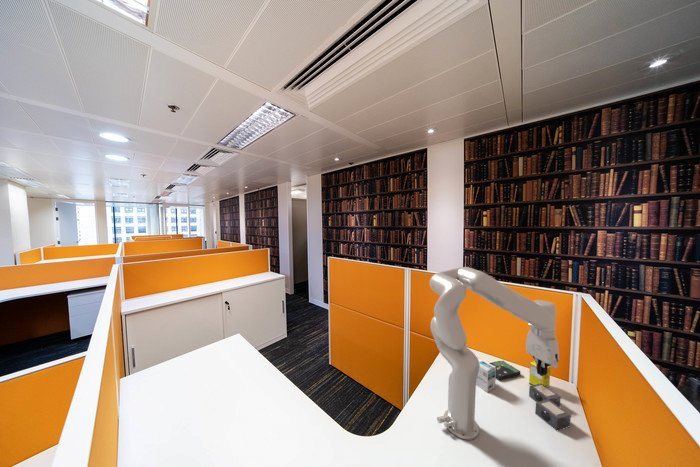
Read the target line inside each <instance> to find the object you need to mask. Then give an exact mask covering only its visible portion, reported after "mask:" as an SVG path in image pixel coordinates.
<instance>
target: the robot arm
mask: <svg viewBox="0 0 700 467" xmlns="http://www.w3.org/2000/svg"><path fill="white" fill-rule="evenodd" d="M429 287H430V289H431V290H432V292H434V293H435V294H437V295H438V296H439V298H438V300H437V301H436V303H435V305H434V308H433V314H434V315H433V317H432V318H431V319H430V326H429V327H430V331H431V334H432V336H433V339H434V341H435V342H434V343H435V345H436V347H437V349H438V351H439V353H440V354H441V356H442V357H443V358H444V359H445V360H446V362H447V363H448V364H449V365H450V366H451V368H452V370H451V372H450V373H449V377H448V392H447V393H448V395H447V396H448V398H447V410H445V412H444V413H443V416H437V417H436V420H437V423H438V424H442V423H443V425H444V427H445V428H446V429H447V430H448V431H449V433H450V432H451V433H452V435H454V436H456V437H458V438H460V439H463V440H473V439H476V438H477V437H478V436H479V433H480V430H479V425H478V423H477V421H476V420H475V419H476V418H475V415H476V413H475V412H476V410H475V409H476V391H477V385H476V379H477V375H478V372H479V368H480V364H479V360H478V358H479V357H478V356H477V355H476V354H475V353H474V352H473V351H472V350H471V349H470V348H468V346H467V342H468V341H467V334H466V331H465V329H464V326H463V323H462V321H461V318H460V315H459V309H460V306H461V305H462V303H463V302H464V300H465V298H466V296H467V290H469V291H471V292H473V293H474V294H476V295H478V296H479V297H481V298H483V299H484V300H486V301H488V302H489V303H491V304H493V305H495V306H496V307H498V308H500V309H502V310H504V311H506V312H509V313H510V314H511V315H512V316H514V317H515V318H517V319H519V320H520V321H523V322H526V323H527V324H528V326H529V327H530V329H529V330H528V333H527V335H526V341H525V351H526V353H527V354H528V355H529V356H531V357H532V358H533V359H534V361H535V363H536V364H537V374H540V375H541V376H543V375H546V374H547V367H548V366H550V368H555V369H556V368H559V365H558V363H559V361H560V350H559V343H558V338H557V337H556V317H557V316H556V315H557V312H556V310H557V307H556V305H555V304H554V303H553V302H550V301H548V300H542V299H535V300H531V299H530V298H528V297H526V296H524V295H522V294H521V293H519V292H517V291H516V290H513V289H512V288H510V287H508V286H506V285H505V284H503V283H501V282H500V281H498V280H497V279H495V278H493V277H492V276H491V275H489V274H488V273H486V272H483V271H481V270H477V269H475V268H472V267H468V266H461V267H456V268H452V269H448V270H444V271H440V272H439V271H438V272H436V273H435V274H433V275H432V276H431V277H430V279H429ZM476 356H477V357H478V358H477V357H476Z"/></svg>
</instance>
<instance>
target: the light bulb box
mask: <svg viewBox="0 0 700 467" xmlns="http://www.w3.org/2000/svg"><path fill="white" fill-rule="evenodd" d="M476 357H477V358H478V360H479V364H480V368H479V372H478V375H477V379H476V387H479V388H481V389H482V390H484V391H485V392H486V393H488V392H490V391H492V390H493V389H495V388H496V367H495V366H493V365H491V364H489V363H490V362H487V361H486V360H484V359H481V357H478V356H477V355H476Z"/></svg>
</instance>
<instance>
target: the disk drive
mask: <svg viewBox="0 0 700 467" xmlns="http://www.w3.org/2000/svg"><path fill="white" fill-rule="evenodd" d="M488 363H489V364H491V365H493V366H495V367H496V378H495V380H497V381H498V382H499V381H503V380H506V379H512V378H515V377H519V376H521V370H520V369H517V368H516V367H514V366H513V365H510V364H509V363H507V362H506V361H505V360H498V361H493V362H488Z"/></svg>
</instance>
